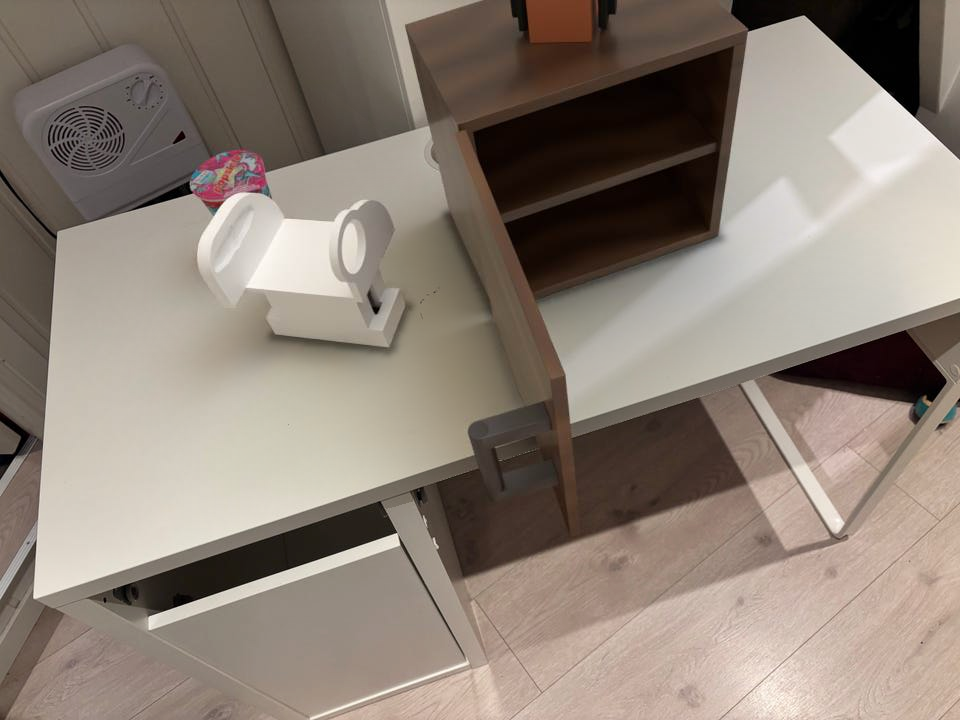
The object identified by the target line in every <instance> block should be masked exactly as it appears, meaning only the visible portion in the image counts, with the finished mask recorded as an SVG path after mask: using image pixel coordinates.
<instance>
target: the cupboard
mask: <svg viewBox="0 0 960 720" xmlns="http://www.w3.org/2000/svg"><path fill="white" fill-rule="evenodd" d="M404 28H405V32H406V36H407V40H408V44H409V49H410V53H411V57H412V62H413V65H414V69H415V74H416V77H417V82H418V87H419V90H420V95H421V99H422V103H423V106H424V111H425V115H426V119H427V123H428V128H429V132H430V136H431V140H432V144H433V147H434V153H435V157H436V161H437V165H438V169H439V173H440V177H441V182H442V185H443V190H444V195H445V198H446V201H447V206H448V210H449V211H448V212H449V213H450V216H451V218H452V220H453V223H454V225H455V226H456V228H457V231H458V234H459V235H460V238H461V239H462V242H463V244H464V246H465V248H466V251H467V253H468V255H469V258H470V259H471V262H472V264H473V266H474V268H475V270H476V272H477V275H478V277H479V279H480V281H481V284H482V286H483V288H484V290H485V293H486V294H487V297H488V298H489V295H488V290H487V285H486V280H485V276H484V271H483V266H482V261H481V257H480V252H479V247H478V242H477V238H476V233H475V228H474V223H473V219H472V214H471V209H470V204H469V200H468V195H467V190H466V185H465V181H464V176H463V171H462V166H461V162H460V157H459V152H458V147H457V143H456V138H455V133H456V132H460V131H463V130H466V131H467V134H468V136H469V139H470V141H471V144H472V146H473V148H474V151H475V153H476V156H477V158H478V161H479V163H480V166H481V168H482V171H483V173H484V176H485V178H486V180H487V183H488V185H489V188H490V190H491V193H492V195H493V198H494V200H495V203H496V205H497V208H498V210H499V212H500V215H501V217H502V220H503V222H504V225H505V227H506V230H507V232H508V235H509V237H510V240H511V242H512V244H513V247H514V249H515V252H516V254H517V257H518V259H519V262H520V264H521V267H522V269H523V272H524V274H525V276H526V279H527V281H528V284H529V286H530V289H531V291H532V294H533V296H534V299H535V300H538V299H541V298H544V297H547V296H549V295H552V294H555V293H558V292H560V291H564V290H567V289H570V288H572V287H575V286H579V285H582V284H584V283H587V282H590V281H592V280H595V279H598V278H601V277H604V276H608V275H610V274H613V273H616V272H618V271H621V270H624V269H627V268H630V267H633V266H635V265H640V264H641V263H645V262H647V261H650V260H653V259H655V258H658V257H661V256H664V255H667V254H670V253H673V252H676V251H679V250H681V249H684V248H688V247H690V246H693V245H696V244H699V243H701V242H704V241H707V240H711V239H714V238H717V237H718V236H719V233H720V226H721V219H722V214H723V213H722V212H723V205H724V200H725V193H726V186H727V179H728V172H729V166H730V165H729V164H730V158H731V151H732V144H733V137H734V131H735V124H736V118H737V110H738V103H739V98H740V97H739V96H740V90H741V82H742V77H743V69H744V63H745V57H746V56H745V55H746V50H747V40H748V34H749V28H748V27H747V26H745V24H744V23H742V22H741V21H740V20H739V19H738V18H736V17H735V16H734V15H733V14H732V13H731V12H729V11H728V10H727V9H726V8H725V7H724V6H723V5H722V4H721V3H720V2H718V1H717V0H617V10H616V15H609V20H608V25H607V29H601V28H599V27H598V12H597V17H596V22H595V26H594V31H593V35H592V40H591V42H555V43H530V35H529V27H528V30H526V31H522V32H520V31H519V25H518V18H513V17H512V11H511V3H510V0H478V1H475V2H472V3H468V4H466V5H462V6H459V7H456V8H453V9H450V10H447V11H443V12H440V13H437V14H434V15H431V16H428V17H425V18H421V19H418V20H415V21H412V22H409V23H406V24H404Z"/></svg>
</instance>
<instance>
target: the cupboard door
mask: <svg viewBox="0 0 960 720" xmlns="http://www.w3.org/2000/svg"><path fill="white" fill-rule="evenodd" d="M455 138H456V143H457V147H458V152H459V157H460V162H461V166H462V171H463V176H464V181H465V185H466V190H467V195H468V200H469V204H470V209H471V214H472V219H473V223H474V228H475V233H476V238H477V242H478V247H479V252H480V257H481V261H482V266H483V271H484V276H485V280H486V285H487V290H488V295H489V297H488V299H489V304H490V309H491V313H492V317H493V321H494V325H495V327H496V330H497V333H498V336H499V338H500V341H501V345H502V347H503V350H504V353H505V356H506V358H507V361H508V365H509V367H510V370H511V372H512V375H513V376H512V377H513V378H514V381H515V384H516V387H517V389H518V392H519V396H520V399H521V401H522V404H523V406H522V407H518V408H515V409H512V410H509V411H505V412H501V413H499V414H495V415H492V416H488V417H485V418H481V419H478V420H475V421H473V422H472V423H471V424H469V425H468V428H467V435H468V439H469V442H470V446H471V448H472V451H473V452H472V453H473V454H474V458H475V461H476V465H477V467H478V470H479V474H480V477H481V480H482V483H483V486H484V487H483V488H484V489H485V492H486V496H487V499H488V500H489V501H491V502H492V503H494V504H498V503H502V502H506V501H510V500H513V499H515V498H519V497H522V496H525V495H530V494H533V493H536V492H539V491H542V490H546V489H550V488H552V490H553V493H554V495H555V499H556V500H557V504H558V506H559V509H560V513H561V515H562V518H563V521H564V524H565V526H566V530H567V533H568V535H569V538H570V539H575V538H576V537H580V536H582V528H581V518H580V517H581V516H580V507H579V495H578V487H577V477H576V467H575V456H574V445H573V436H572V426H571V418H570V417H571V416H570V406H569V405H570V404H569V397H568V396H569V395H568V387H567V377H566V372H565V370H564V368H563V366H562V363H561V361H560V358H559V355H558V353H557V351H556V348H555V346H554V343H553V340H552V338H551V336H550V333H549V330H548V328H547V325H546V323H545V320H544V319H543V315H542V314H541V311H540V309H539V306H538V304H537V301H536V299H534V296H533V294H532V291H531V289H530V286H529V284H528V281H527V279H526V276H525V274H524V272H523V269H522V267H521V264H520V262H519V259H518V257H517V254H516V252H515V249H514V247H513V244H512V242H511V240H510V237H509V235H508V232H507V230H506V227H505V225H504V222H503V220H502V217H501V215H500V212H499V210H498V208H497V205H496V203H495V200H494V198H493V195H492V193H491V190H490V188H489V185H488V183H487V180H486V178H485V176H484V173H483V171H482V168H481V166H480V163H479V161H478V158H477V156H476V153H475V151H474V148H473V146H472V144H471V141H470V139H469V136H468V134H467V131H466V130H463V131H460V132H456V133H455ZM488 295H487V296H488ZM531 437H534V438H535V441H536V443H537V447H538V449H539V452H540V455H541V459H542V461H539V462H536V463H532V464H530V465H527V466H523V467H519V468H515V469H513V470H509V471H505V472H502V468H501V465H500V461H499V456H498V453H497V449H496V448H497V447H502V446H504V445H509V444H511V443H514V442H518V441H521V440H525V439H529V438H531Z"/></svg>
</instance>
